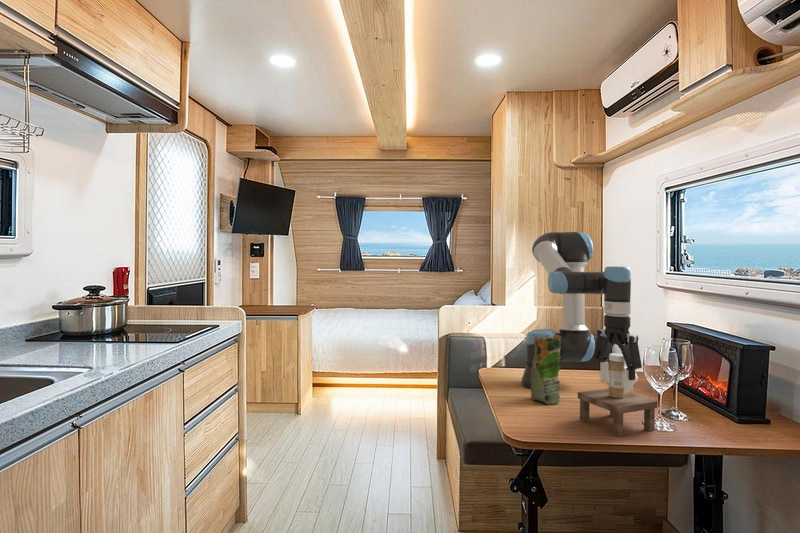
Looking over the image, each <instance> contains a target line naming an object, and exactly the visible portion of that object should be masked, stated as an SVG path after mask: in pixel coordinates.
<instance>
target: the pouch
mask: <svg viewBox="0 0 800 533" xmlns="http://www.w3.org/2000/svg"><path fill="white" fill-rule="evenodd" d="M561 337H562V336H559V335H553V336H550V337H549V336H548V335H546V337H545V338H543V337H541V338H539V337H536V336H535V337H534V338H533V339H534V346H535V356H534V359H533V360H532V361H533V363H532V368H531V378H530V380H531V388H530V390H531V391H530V393H531V396H530V397H531V398H530V399H531V401H533V400H534V401H538V402H542V403H544V404H546V405H547V406H555V405H557V404H559V403H560V397H561V396H560V393H559V391H560V383H561V382H560V379H559V372H560V370H561V366H560V362H561V361H560V358H561V357H560V348H561V343H562V342H561Z"/></svg>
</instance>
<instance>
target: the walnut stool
mask: <svg viewBox="0 0 800 533" xmlns="http://www.w3.org/2000/svg"><path fill="white" fill-rule="evenodd" d="M608 394H609V387H608V388H600V389H592V390H585V391H578V392H577V399H579V420H580V421H581V422H583V423H587V422H590V404H592V405H594V406H596V407H599V408H601V409H605V411H609V416H611V417H612V426H611V427H612V430H611V431H612V435H613V436H614V437H617V438H620V437H624V414H627V413H634V412H640V411H643V414H644V415H643V430H646V431H648V432H652V431H655V424H656V423H655V422H656V421H655V417H656V415H655V409H658V401H657V400H654V399H651V398H648V397H646V396H642V395H639V394H636V393H632V392H629V391H628V392H627V391H624V398H614V397H611V396H609V395H608Z"/></svg>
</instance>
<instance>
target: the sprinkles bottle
mask: <svg viewBox="0 0 800 533" xmlns="http://www.w3.org/2000/svg"><path fill="white" fill-rule="evenodd" d="M608 362H609V380H608V388H609V394H608V395H609V396H611V397H614V398H624V366H625V364H626V363H625V360H624V357H623V354H622V353H618V352H615V353H614V352H613V353H612V352H610V354H609V356H608Z"/></svg>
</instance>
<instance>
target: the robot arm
mask: <svg viewBox="0 0 800 533" xmlns="http://www.w3.org/2000/svg"><path fill="white" fill-rule="evenodd" d="M531 252H532V255H533V257H534V259H535V260H536V261H537V262H539V263H541V266H542V267H543V268H544V270H545V271H546V273H547V275H548V276H547V287H548V290H549V292H550V293H552V294H558V295H562V325H560V327H559V328H558V329H559V330H558V331H559V332H556V330H555V329H553V328H537V329H531V330H530V331H528V332H527V333H526V338H525V346H526V347H525V367H524V371H523V373H522V374H523V375H522V377H521V385H522V386H523V387H524V388H529V389H531V380H530V378H531V368H532V363H533V361H532V360H533V359H534V356H535V346H534V339H533V338H534V337H535V336H536V337H539V338H541V337H543V338H545V337H546V335H548V336H549V337H550V336H553V335H559V336H562V337H561V342H562V343H561V348H560V357H561V358H560V361H559V362H577V363H580V362H588V361H590V360H591V359H592V357H593V359H596V360H597V361H598V370H599V372H600V378H599V379H600V383H602V384H604V383H609V368H610V361H609V354H611V353H612V352H611V351H612V349H613V347H614V346H615V345H616V346H617V347H618V348H619V350H620V352H621V354H623V357H624V360H625V363H624V364H625V366H627V368H626V369H625V390H626V391H628V392H629V391H634V386H635V384H634V380H635V371H636V370H637V369H642V360H641V354H640V348H639V336H638V335H636V334H635V335H634V334H631V333H630V331H629V330H630V328H631V317H630V316H629V315H631V306H632V304H631V295H632V294H631V293H632V292H631V289H632V288H631V286H632V272H631V267H629V266H611V265H610V266H609V265H608V266H605V267H604V270H603V271H585V267H586V266H588V264H589V261H590V260H591V259H592V258H593V254H594V245H593V241H592V238H591V237H590V235H589V234H588V233H586V232H580V231H564V232H563V231H562V232H561V231H560V232H559V231H558V232H556V231H552V232H551V231H549V232H546V233H543V234H542V235H540V236H538V237H537V238H536V239H535V241H534V242H533V244H532V248H531ZM585 295H603V296H604V297H603V302H604V303H603V313H604V314H605V315H604V316H603V326H604V327H605V329H597V330H596V333H597V334H596V335H597V337H596V341H595V337H594V334H592V333H590V329H589V327H587V326H586V307H585V306H586V305H585V304H586V300H585V297H586V296H585Z"/></svg>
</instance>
